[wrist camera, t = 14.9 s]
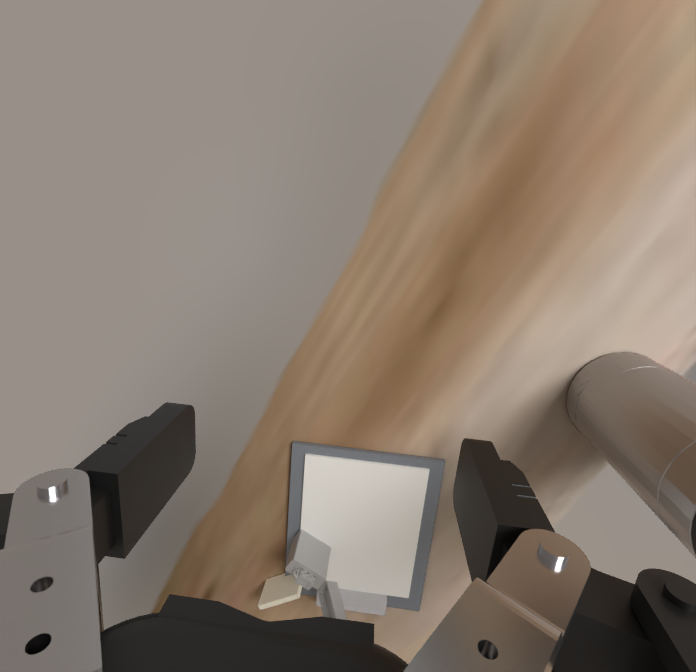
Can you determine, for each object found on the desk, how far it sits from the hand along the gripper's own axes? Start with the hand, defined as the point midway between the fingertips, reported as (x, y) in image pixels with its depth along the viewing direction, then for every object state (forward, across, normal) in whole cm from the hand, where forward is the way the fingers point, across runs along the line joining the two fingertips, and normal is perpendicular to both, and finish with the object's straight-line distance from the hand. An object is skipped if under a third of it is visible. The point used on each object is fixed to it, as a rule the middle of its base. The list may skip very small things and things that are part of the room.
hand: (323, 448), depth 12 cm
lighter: (+28, +2, +30) cm, 41 cm away
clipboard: (+28, -2, +27) cm, 39 cm away
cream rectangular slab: (+28, +6, +35) cm, 45 cm away
